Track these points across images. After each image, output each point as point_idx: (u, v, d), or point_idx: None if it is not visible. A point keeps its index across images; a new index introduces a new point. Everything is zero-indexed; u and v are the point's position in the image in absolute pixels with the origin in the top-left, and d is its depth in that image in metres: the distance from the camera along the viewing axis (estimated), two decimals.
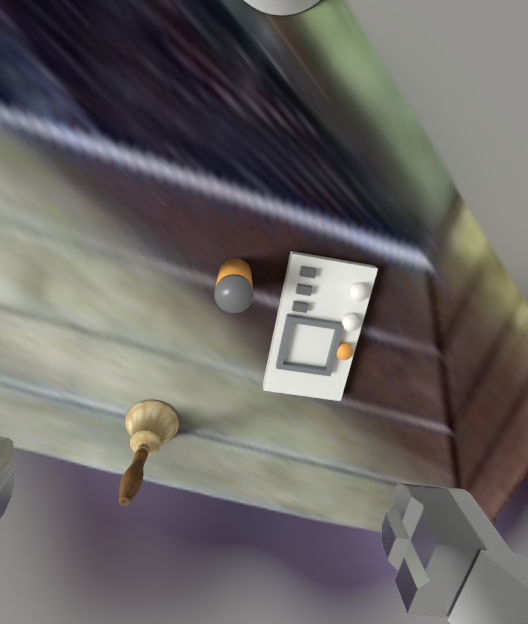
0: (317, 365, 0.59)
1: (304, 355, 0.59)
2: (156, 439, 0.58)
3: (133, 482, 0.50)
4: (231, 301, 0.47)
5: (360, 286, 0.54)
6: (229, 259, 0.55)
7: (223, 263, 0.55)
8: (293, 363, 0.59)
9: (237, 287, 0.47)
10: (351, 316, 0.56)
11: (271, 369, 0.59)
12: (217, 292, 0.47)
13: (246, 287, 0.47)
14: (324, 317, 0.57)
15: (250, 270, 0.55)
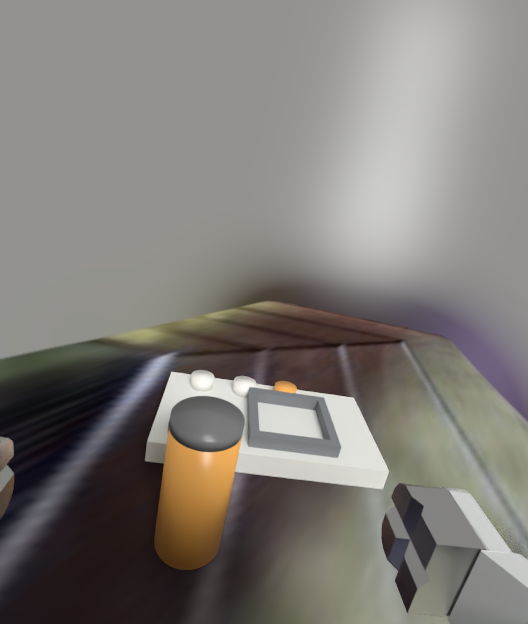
0: (316, 416, 0.41)
1: (307, 428, 0.39)
2: None
3: None
4: (221, 419, 0.24)
5: (194, 375, 0.42)
6: (156, 546, 0.26)
7: (164, 555, 0.26)
8: (325, 435, 0.38)
9: (193, 411, 0.25)
10: (235, 381, 0.43)
11: (348, 462, 0.35)
12: (206, 436, 0.23)
13: (192, 402, 0.25)
14: (244, 410, 0.40)
15: None
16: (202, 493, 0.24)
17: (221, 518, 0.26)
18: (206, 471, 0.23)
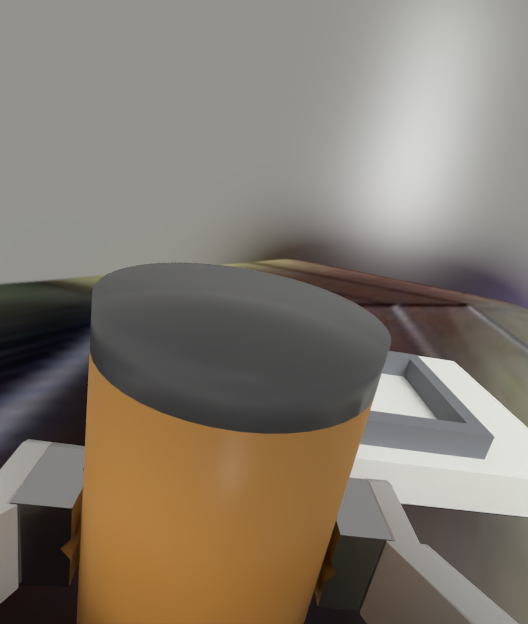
0: (410, 385, 0.23)
1: (404, 404, 0.21)
2: None
3: None
4: (299, 313, 0.06)
5: None
6: None
7: None
8: (444, 416, 0.20)
9: (189, 287, 0.06)
10: None
11: (509, 468, 0.17)
12: (253, 353, 0.05)
13: (187, 271, 0.07)
14: None
15: None
16: (231, 616, 0.06)
17: None
18: (247, 526, 0.05)
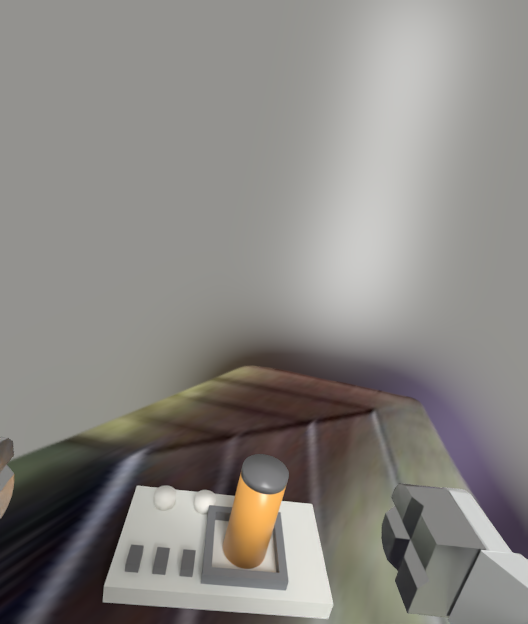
0: (272, 534, 0.44)
1: None
2: None
3: None
4: (274, 471, 0.39)
5: (156, 494, 0.45)
6: (227, 554, 0.40)
7: (234, 560, 0.39)
8: (276, 562, 0.40)
9: (256, 467, 0.39)
10: (196, 498, 0.45)
11: (295, 595, 0.38)
12: (269, 484, 0.37)
13: (253, 459, 0.39)
14: (202, 533, 0.42)
15: None
16: (264, 519, 0.38)
17: (271, 534, 0.40)
18: (267, 506, 0.37)
